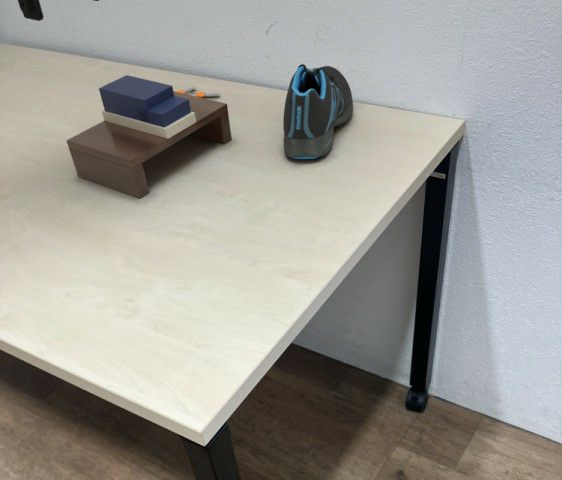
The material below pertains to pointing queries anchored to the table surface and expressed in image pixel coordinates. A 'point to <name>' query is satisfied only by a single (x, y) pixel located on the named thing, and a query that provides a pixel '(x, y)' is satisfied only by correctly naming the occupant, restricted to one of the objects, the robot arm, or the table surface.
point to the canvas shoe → (146, 106)
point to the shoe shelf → (139, 146)
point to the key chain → (200, 94)
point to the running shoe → (314, 111)
